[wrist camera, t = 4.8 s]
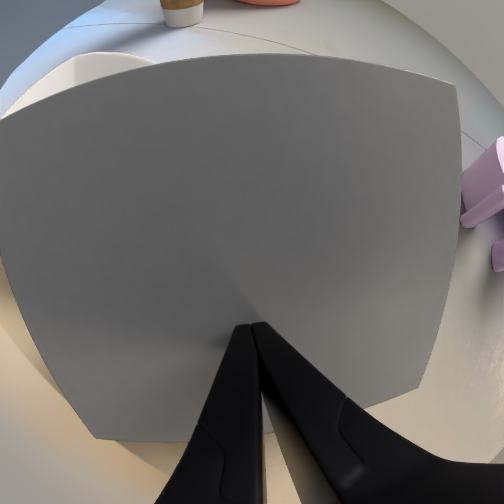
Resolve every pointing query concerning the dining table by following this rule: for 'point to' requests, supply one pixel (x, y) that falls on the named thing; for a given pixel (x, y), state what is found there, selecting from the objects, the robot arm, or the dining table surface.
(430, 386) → the dining table surface
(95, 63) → the bowl
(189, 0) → the coffee cup
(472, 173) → the clip
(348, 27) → the dining table surface
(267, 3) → the teapot
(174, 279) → the box lid
